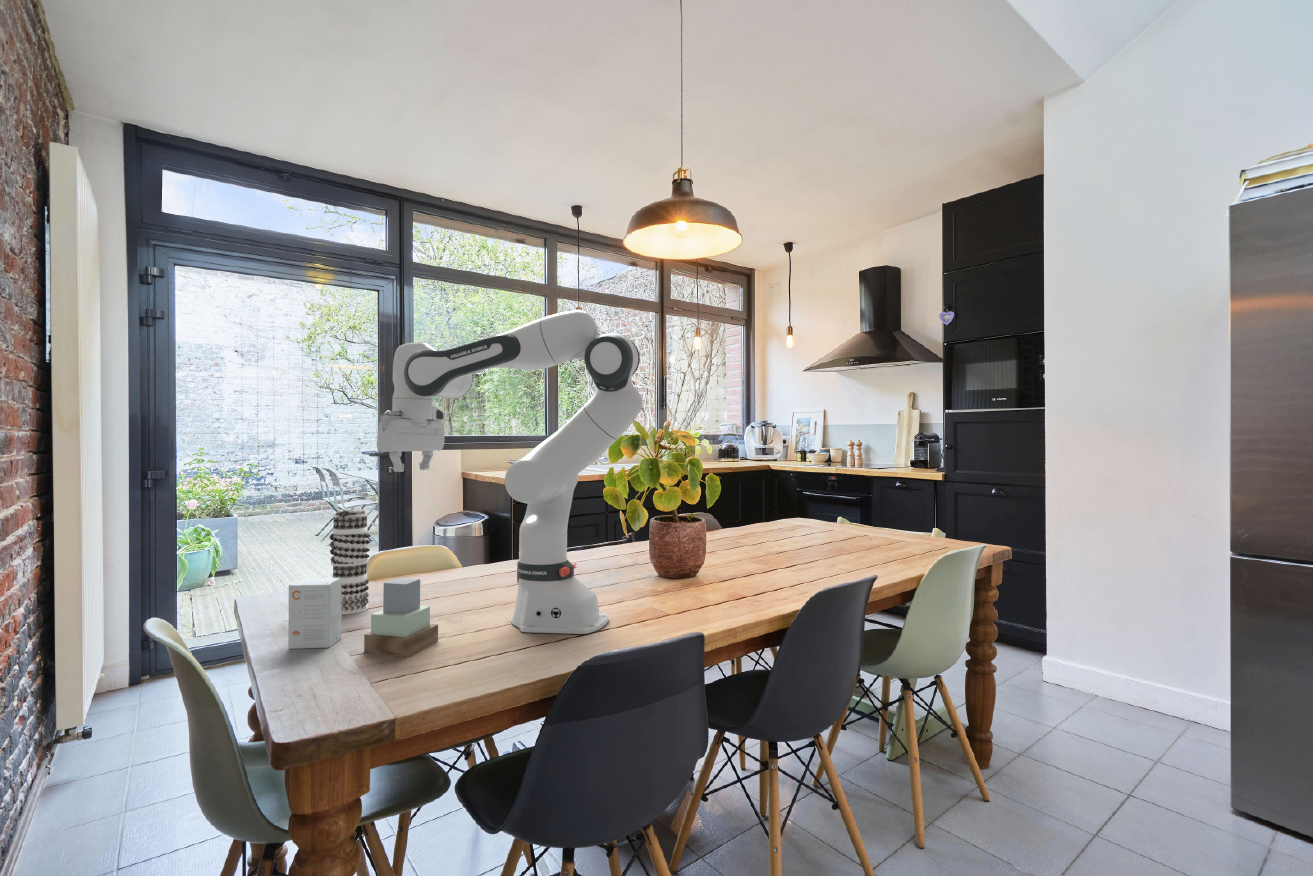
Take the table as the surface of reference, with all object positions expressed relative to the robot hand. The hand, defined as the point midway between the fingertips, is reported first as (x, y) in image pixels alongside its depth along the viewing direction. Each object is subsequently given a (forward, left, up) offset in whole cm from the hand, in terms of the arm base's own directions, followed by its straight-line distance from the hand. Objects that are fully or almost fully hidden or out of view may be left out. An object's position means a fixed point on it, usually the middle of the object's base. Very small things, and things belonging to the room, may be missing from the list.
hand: (412, 470), depth 145 cm
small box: (+8, +20, -35) cm, 41 cm away
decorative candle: (+20, -3, -35) cm, 41 cm away
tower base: (-10, +16, -36) cm, 41 cm away
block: (-10, +17, -28) cm, 34 cm away
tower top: (-10, +17, -32) cm, 37 cm away
